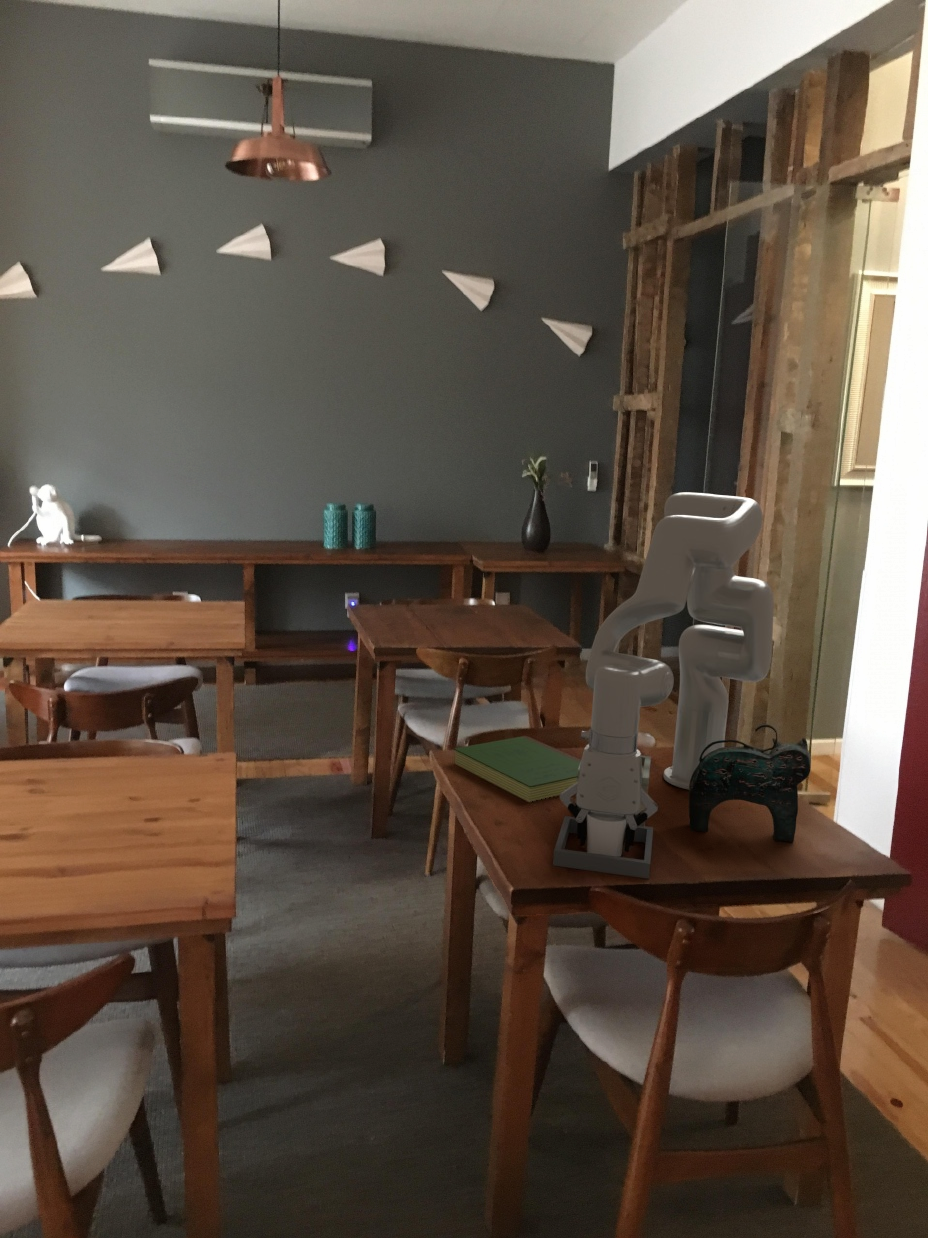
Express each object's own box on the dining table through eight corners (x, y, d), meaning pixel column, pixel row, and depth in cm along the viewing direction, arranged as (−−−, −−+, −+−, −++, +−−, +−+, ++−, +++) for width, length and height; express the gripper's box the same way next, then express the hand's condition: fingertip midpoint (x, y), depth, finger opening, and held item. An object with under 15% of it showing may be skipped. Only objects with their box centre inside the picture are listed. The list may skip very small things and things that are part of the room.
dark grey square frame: (563, 829, 175) (564, 816, 174) (652, 841, 172) (653, 827, 171) (552, 865, 160) (554, 850, 160) (648, 878, 157) (650, 863, 157)
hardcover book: (603, 788, 197) (604, 770, 197) (528, 805, 187) (530, 786, 186) (522, 751, 217) (523, 734, 216) (451, 765, 206) (451, 747, 206)
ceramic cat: (800, 834, 178) (814, 725, 174) (805, 849, 172) (818, 736, 168) (685, 820, 182) (695, 713, 178) (685, 834, 176) (696, 723, 172)
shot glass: (624, 864, 162) (627, 823, 161) (581, 858, 163) (584, 817, 162) (626, 847, 169) (629, 807, 167) (584, 842, 170) (588, 802, 169)
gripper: (556, 742, 161) (549, 848, 164) (668, 755, 157) (657, 863, 161) (562, 728, 168) (554, 830, 171) (668, 740, 164) (659, 844, 168)
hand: (604, 845), depth 166 cm, fingers closed on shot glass, 6 cm apart
